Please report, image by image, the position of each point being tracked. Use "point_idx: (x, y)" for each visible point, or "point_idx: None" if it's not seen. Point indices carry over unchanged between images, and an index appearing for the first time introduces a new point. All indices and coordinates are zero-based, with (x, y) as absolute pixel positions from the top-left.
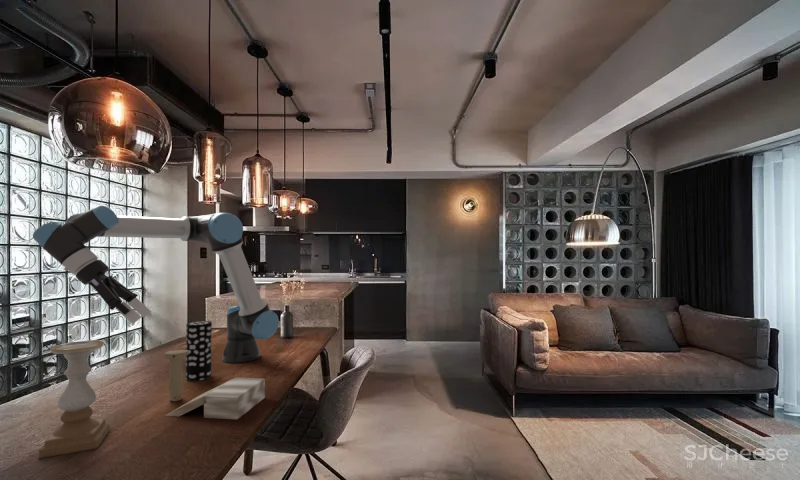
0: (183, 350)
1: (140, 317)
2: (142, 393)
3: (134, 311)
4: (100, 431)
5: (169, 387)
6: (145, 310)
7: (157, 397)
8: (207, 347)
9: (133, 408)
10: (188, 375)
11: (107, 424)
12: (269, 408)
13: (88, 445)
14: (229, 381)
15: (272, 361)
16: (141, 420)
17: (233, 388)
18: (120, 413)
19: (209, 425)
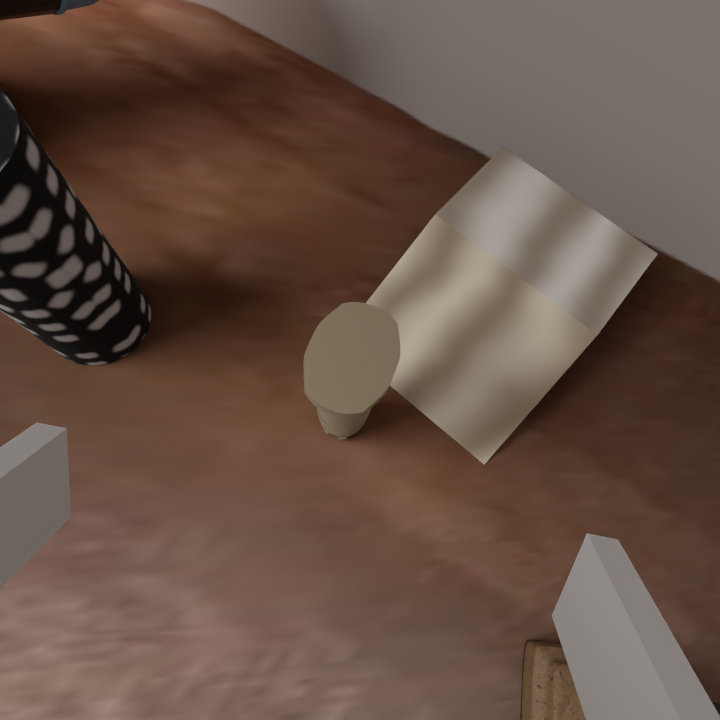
0: (340, 321)
1: (616, 547)
2: (166, 536)
3: (668, 628)
4: None
5: (350, 432)
6: (29, 490)
7: (265, 481)
8: (88, 213)
9: (344, 567)
10: (110, 350)
11: (556, 650)
12: None
13: None
14: (473, 239)
15: (94, 69)
16: (490, 537)
17: (560, 245)
18: (374, 613)
19: (627, 356)
